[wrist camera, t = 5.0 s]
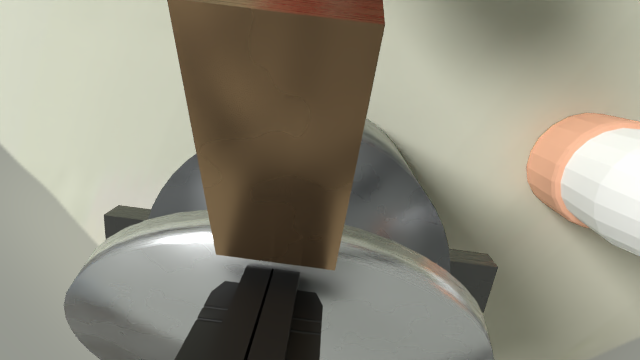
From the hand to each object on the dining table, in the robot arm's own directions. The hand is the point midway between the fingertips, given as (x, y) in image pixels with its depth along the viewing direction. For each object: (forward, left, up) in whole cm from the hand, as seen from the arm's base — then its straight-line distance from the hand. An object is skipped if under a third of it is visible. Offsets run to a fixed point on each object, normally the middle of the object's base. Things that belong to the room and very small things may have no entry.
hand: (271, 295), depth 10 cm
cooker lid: (0, +3, -3) cm, 4 cm away
